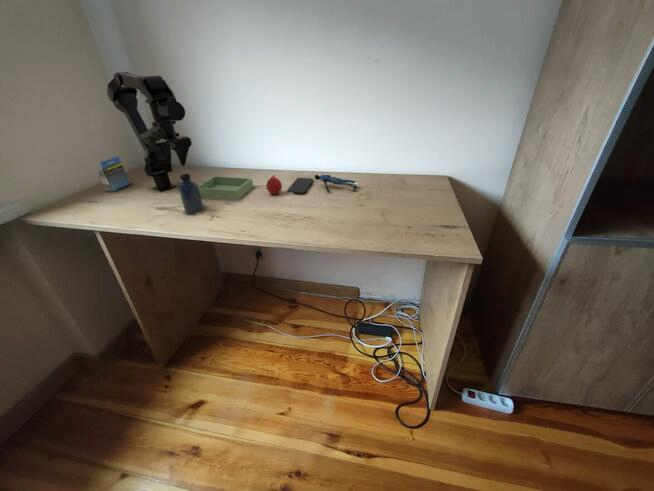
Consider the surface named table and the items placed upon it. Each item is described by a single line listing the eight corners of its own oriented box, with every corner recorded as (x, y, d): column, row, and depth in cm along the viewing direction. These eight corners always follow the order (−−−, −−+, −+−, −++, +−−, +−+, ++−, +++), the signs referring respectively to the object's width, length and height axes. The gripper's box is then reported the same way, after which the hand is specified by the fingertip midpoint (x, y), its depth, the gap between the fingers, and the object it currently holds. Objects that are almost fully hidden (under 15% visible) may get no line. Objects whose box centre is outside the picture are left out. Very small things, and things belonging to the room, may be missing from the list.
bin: (197, 197, 115) (195, 187, 113) (216, 185, 126) (214, 175, 123) (238, 201, 111) (236, 190, 109) (253, 188, 122) (251, 178, 120)
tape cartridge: (123, 183, 130) (111, 155, 123) (130, 184, 129) (119, 155, 122) (105, 191, 122) (92, 161, 116) (113, 192, 122) (99, 162, 115)
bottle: (185, 208, 107) (175, 173, 100) (204, 205, 108) (194, 171, 101) (185, 216, 102) (174, 180, 95) (204, 213, 103) (194, 177, 96)
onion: (279, 198, 113) (277, 178, 108) (265, 197, 114) (262, 177, 109) (284, 192, 117) (282, 173, 113) (270, 191, 118) (268, 172, 114)
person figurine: (358, 188, 124) (317, 179, 126) (360, 177, 121) (318, 169, 124) (354, 198, 115) (310, 188, 117) (356, 187, 112) (311, 178, 115)
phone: (286, 191, 116) (297, 177, 128) (286, 193, 117) (297, 179, 129) (304, 192, 115) (313, 178, 127) (304, 194, 115) (314, 180, 127)
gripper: (125, 119, 100) (141, 165, 109) (153, 125, 91) (169, 174, 99) (157, 114, 108) (170, 157, 116) (186, 119, 98) (198, 165, 107)
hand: (176, 163), depth 109 cm, fingers open, 9 cm apart
